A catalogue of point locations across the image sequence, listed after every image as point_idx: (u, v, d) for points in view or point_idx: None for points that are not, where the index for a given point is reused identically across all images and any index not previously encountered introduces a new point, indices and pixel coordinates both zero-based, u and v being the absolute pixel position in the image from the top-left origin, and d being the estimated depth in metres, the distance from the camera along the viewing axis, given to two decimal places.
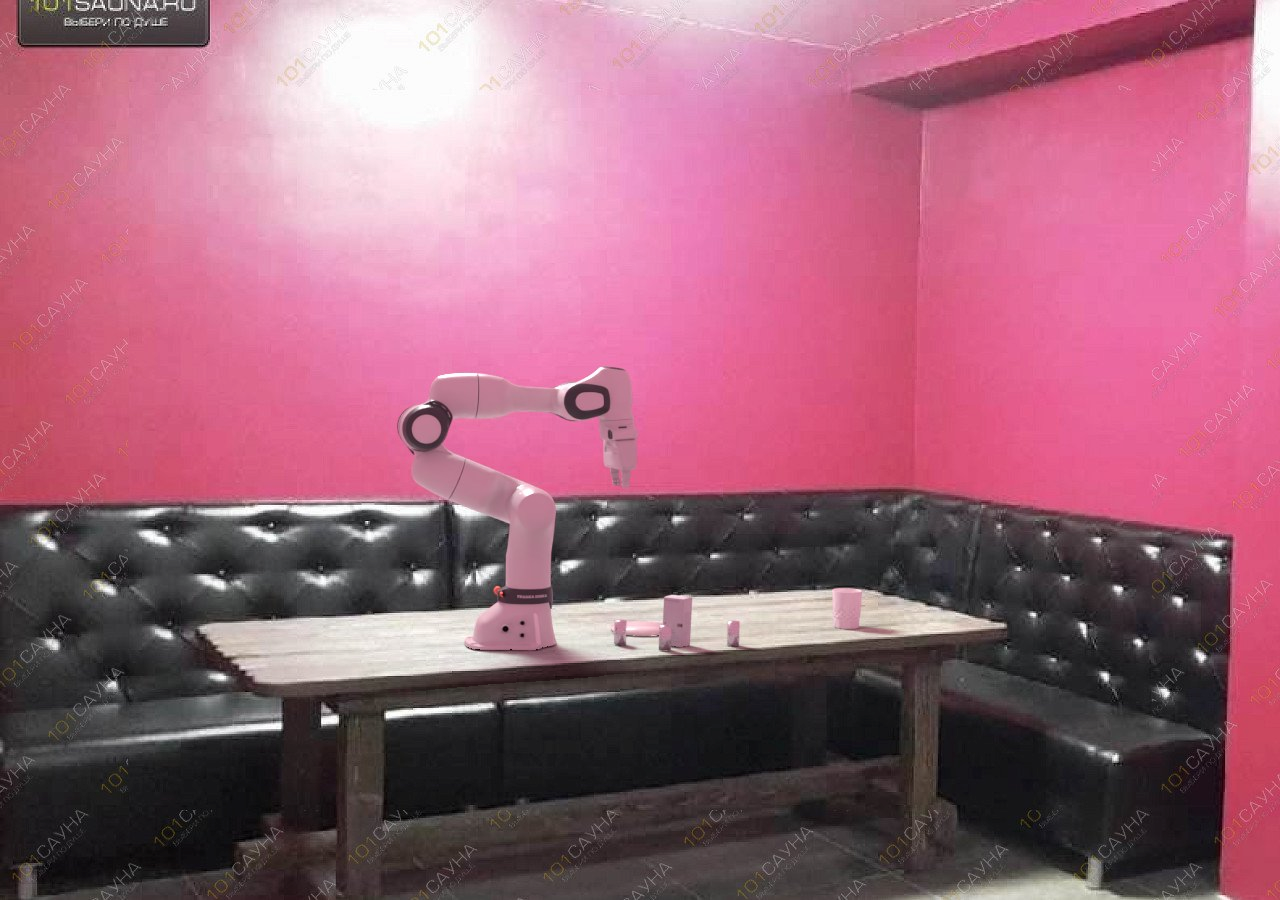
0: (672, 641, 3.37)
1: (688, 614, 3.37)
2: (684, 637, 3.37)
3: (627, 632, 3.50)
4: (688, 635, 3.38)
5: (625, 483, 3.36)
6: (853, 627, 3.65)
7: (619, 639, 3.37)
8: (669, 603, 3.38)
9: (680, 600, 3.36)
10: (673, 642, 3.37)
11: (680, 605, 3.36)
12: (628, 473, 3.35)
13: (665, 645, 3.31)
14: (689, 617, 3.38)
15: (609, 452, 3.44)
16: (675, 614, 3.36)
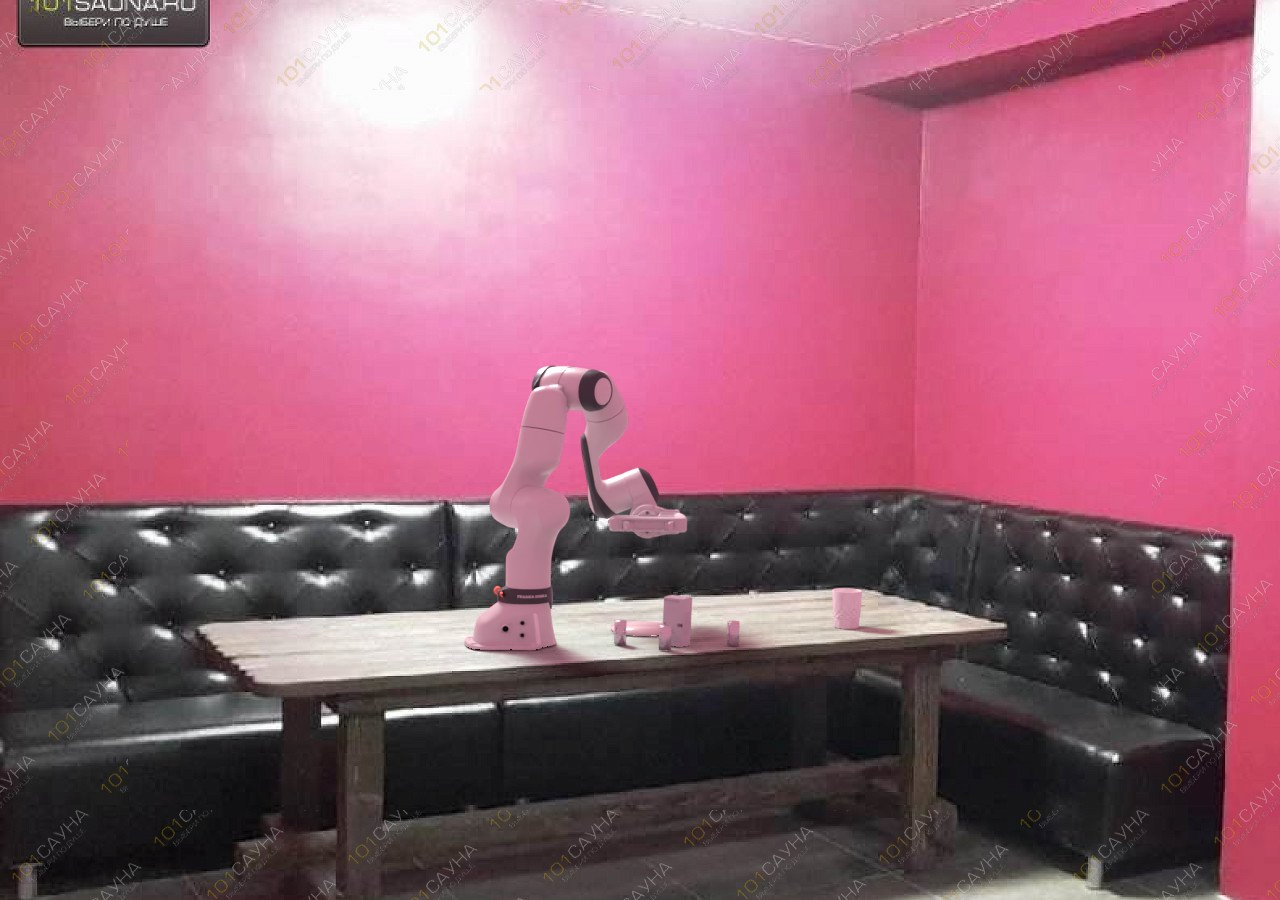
0: (672, 641, 3.37)
1: (688, 614, 3.37)
2: (684, 637, 3.37)
3: (627, 632, 3.50)
4: (688, 635, 3.38)
5: (670, 525, 3.51)
6: (853, 627, 3.65)
7: (619, 639, 3.37)
8: (669, 603, 3.38)
9: (680, 600, 3.36)
10: (673, 642, 3.37)
11: (680, 605, 3.36)
12: (673, 527, 3.53)
13: (665, 645, 3.31)
14: (689, 617, 3.38)
15: (635, 517, 3.58)
16: (675, 614, 3.37)
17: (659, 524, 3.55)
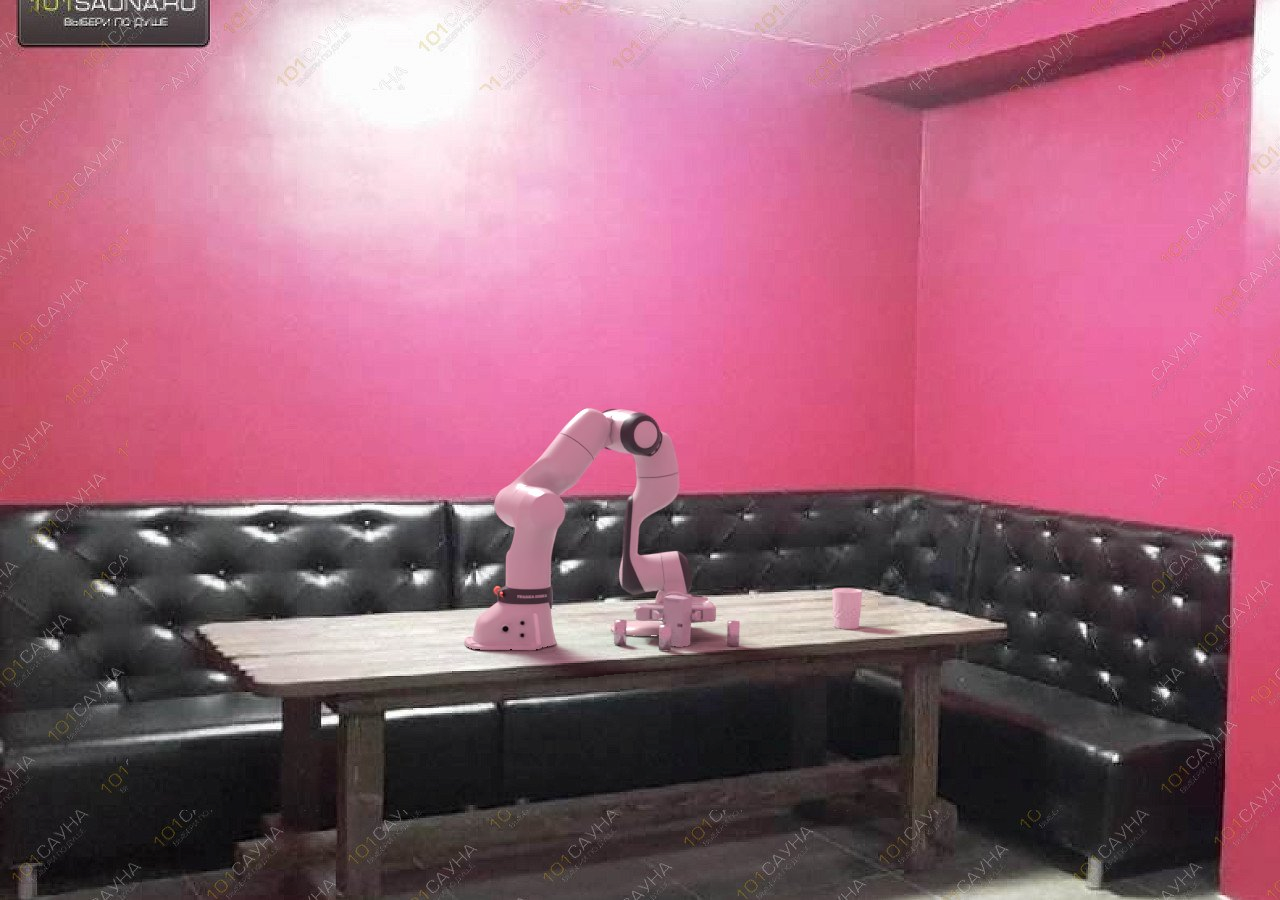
0: (672, 641, 3.37)
1: (688, 614, 3.37)
2: (684, 637, 3.37)
3: (627, 632, 3.50)
4: (688, 635, 3.38)
5: (697, 616, 3.39)
6: (853, 627, 3.65)
7: (619, 639, 3.37)
8: (669, 603, 3.38)
9: (680, 600, 3.36)
10: (673, 642, 3.37)
11: (680, 605, 3.36)
12: (700, 617, 3.42)
13: (665, 645, 3.31)
14: (689, 617, 3.38)
15: None
16: (675, 614, 3.36)
17: None
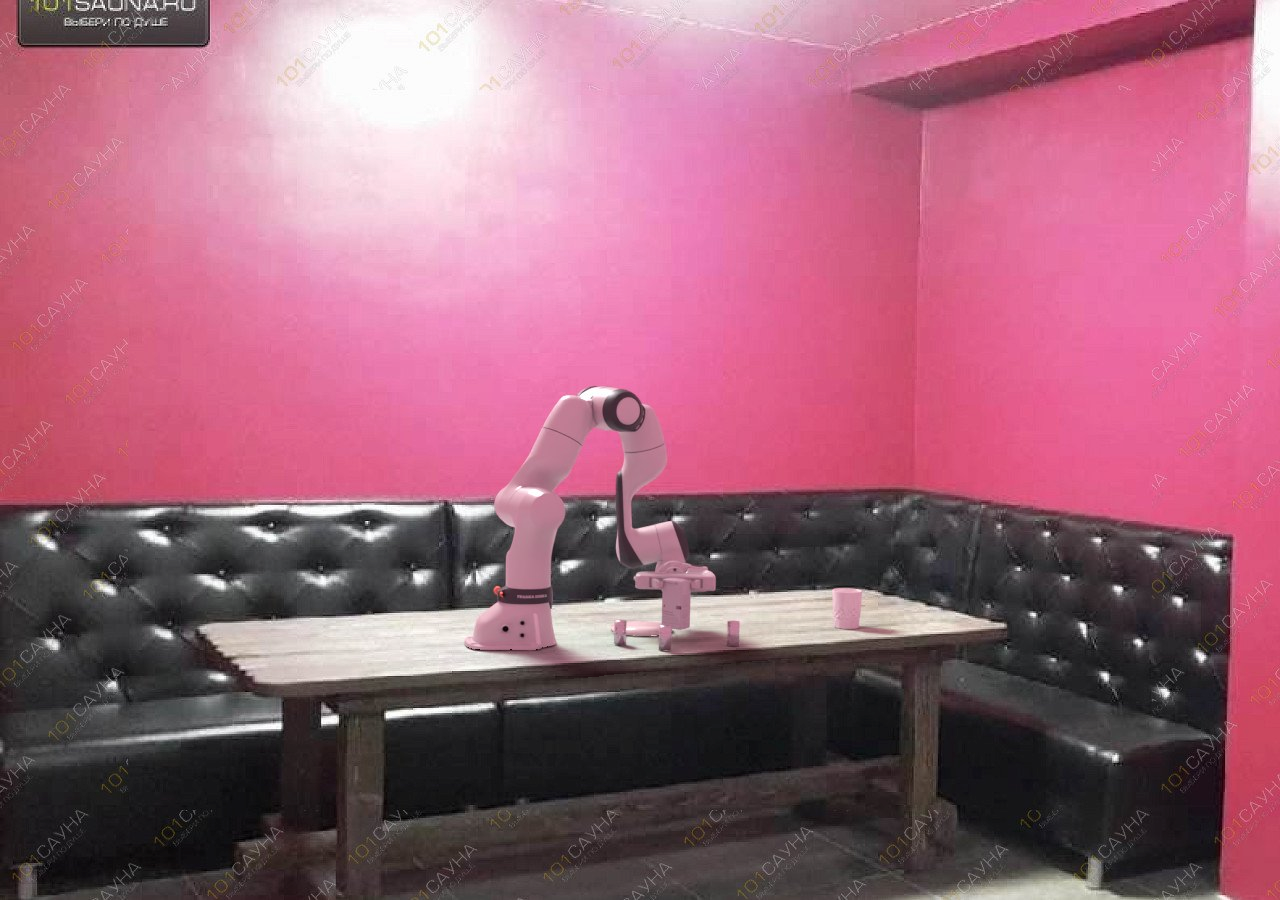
0: (671, 623, 3.37)
1: (687, 596, 3.37)
2: (683, 619, 3.36)
3: (627, 632, 3.50)
4: (687, 617, 3.38)
5: (696, 584, 3.39)
6: (853, 627, 3.65)
7: (619, 639, 3.37)
8: (667, 586, 3.37)
9: (678, 582, 3.35)
10: (673, 625, 3.37)
11: (678, 587, 3.36)
12: (700, 586, 3.41)
13: (665, 645, 3.31)
14: (688, 599, 3.38)
15: (662, 574, 3.46)
16: (674, 596, 3.36)
17: None
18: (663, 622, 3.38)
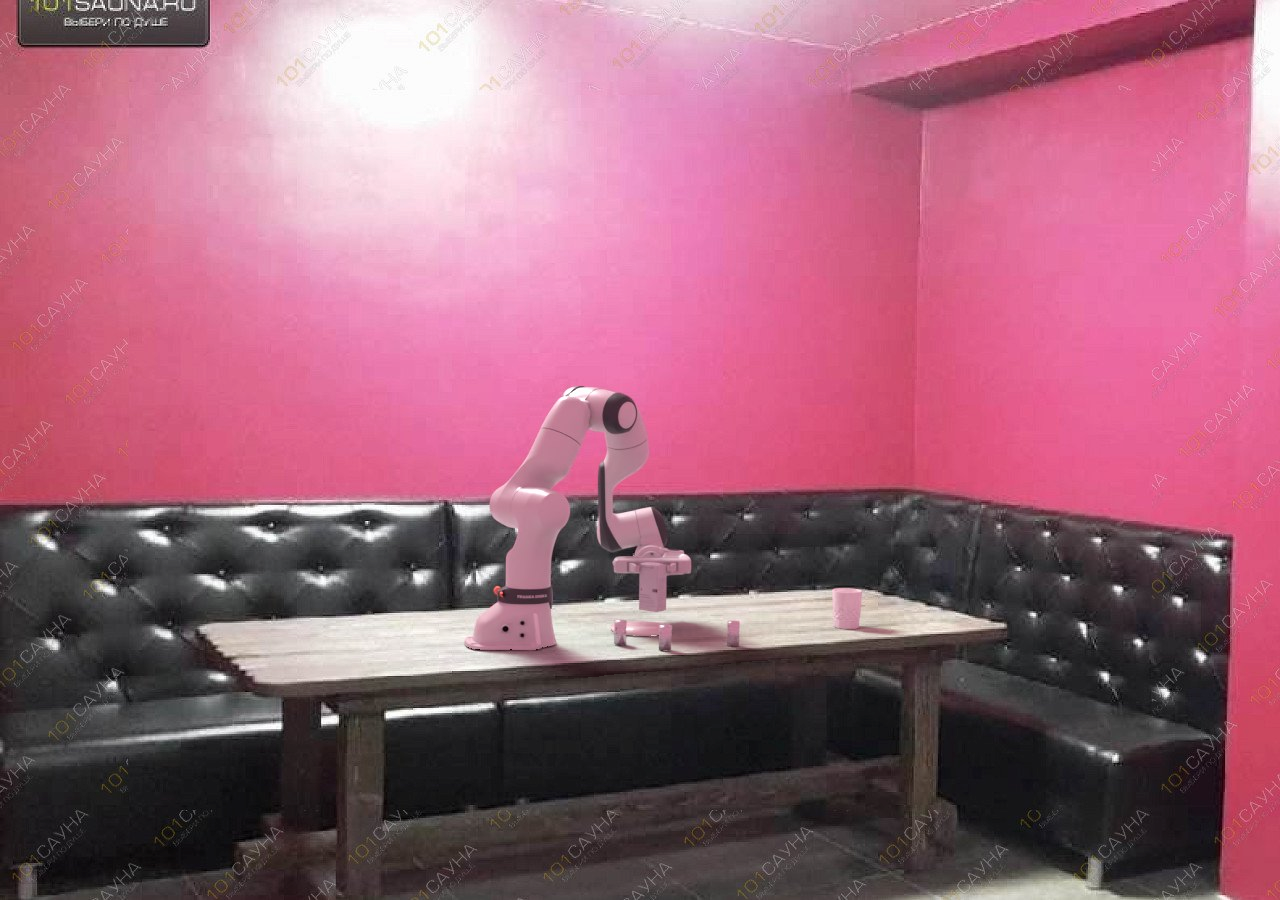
0: (648, 606, 3.50)
1: (663, 580, 3.50)
2: (660, 602, 3.49)
3: (627, 632, 3.50)
4: (664, 600, 3.51)
5: (672, 568, 3.52)
6: (853, 627, 3.65)
7: (619, 639, 3.37)
8: (644, 570, 3.50)
9: (654, 566, 3.48)
10: (649, 607, 3.50)
11: (654, 571, 3.48)
12: (675, 569, 3.54)
13: (665, 645, 3.31)
14: (664, 582, 3.51)
15: None
16: (650, 580, 3.49)
17: None
18: (640, 605, 3.51)
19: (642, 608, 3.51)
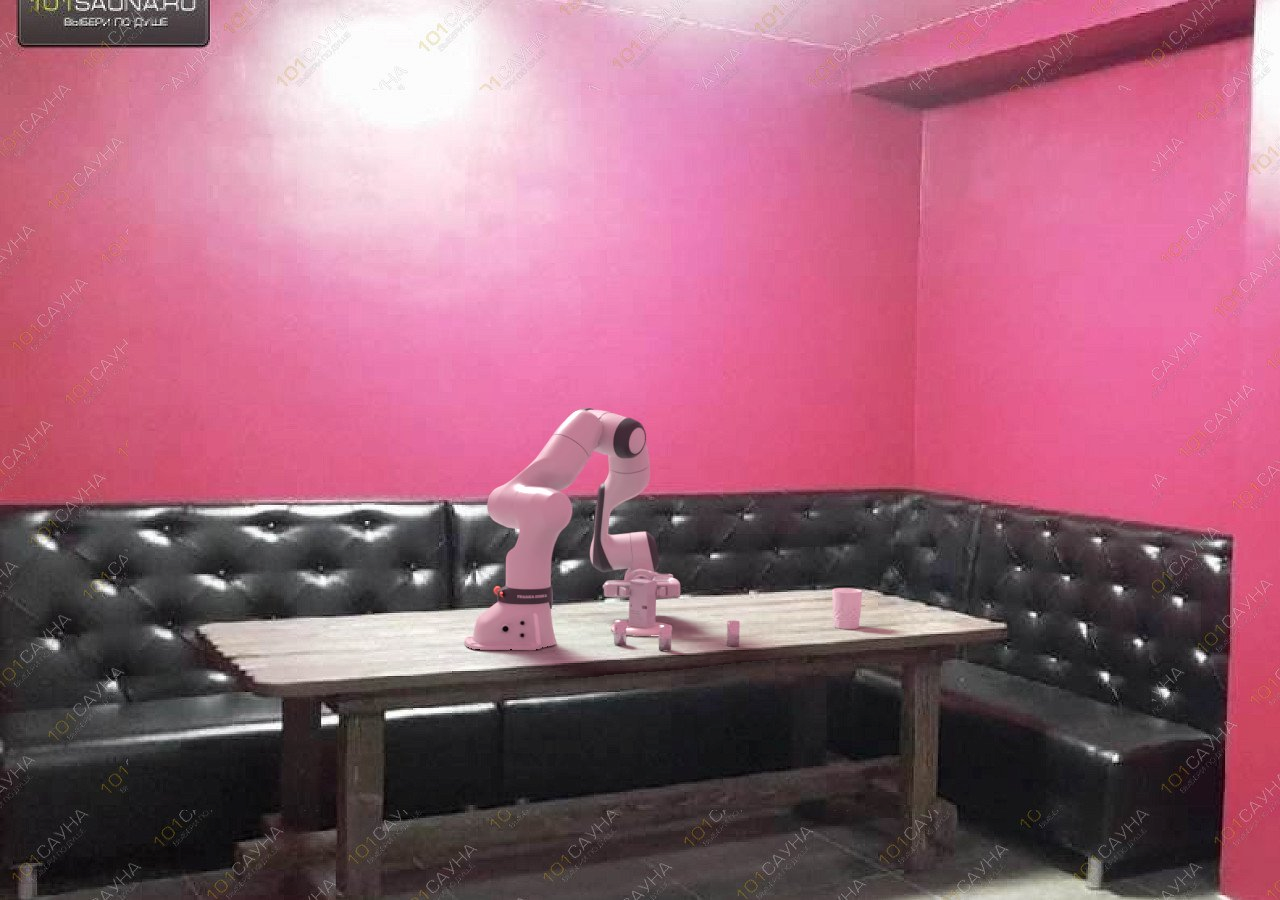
0: (638, 622, 3.56)
1: (652, 597, 3.56)
2: (649, 618, 3.55)
3: (627, 632, 3.50)
4: (653, 616, 3.56)
5: (661, 592, 3.57)
6: (853, 627, 3.65)
7: (619, 639, 3.37)
8: (634, 587, 3.56)
9: (644, 583, 3.54)
10: (639, 623, 3.55)
11: (644, 588, 3.54)
12: (665, 593, 3.60)
13: (665, 645, 3.31)
14: (654, 599, 3.56)
15: None
16: (640, 596, 3.55)
17: None
18: (630, 621, 3.57)
19: (632, 624, 3.57)
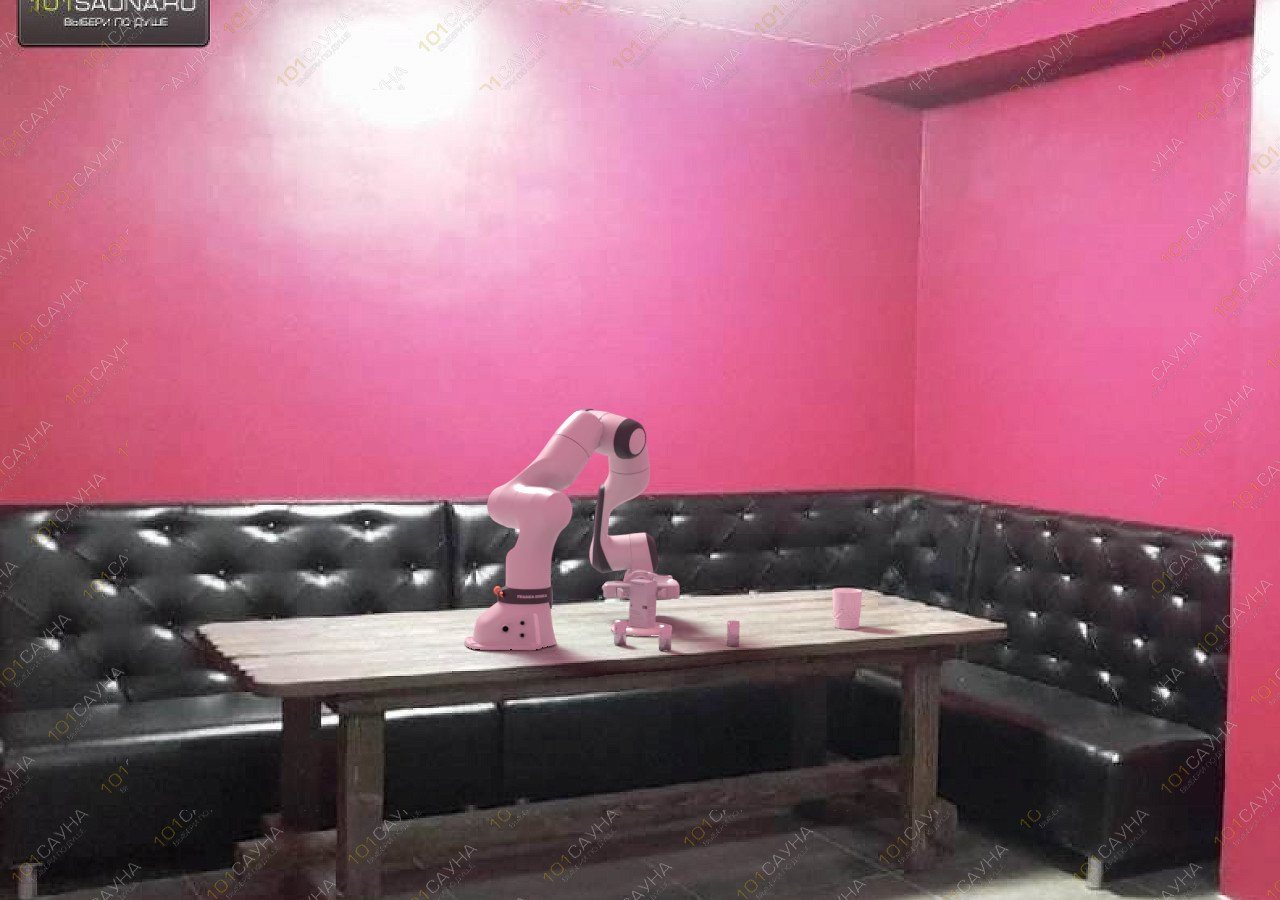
0: (638, 622, 3.56)
1: (653, 597, 3.56)
2: (649, 618, 3.55)
3: (627, 632, 3.50)
4: (653, 617, 3.57)
5: (662, 593, 3.57)
6: (853, 627, 3.65)
7: (619, 639, 3.37)
8: (635, 587, 3.56)
9: (645, 583, 3.54)
10: (639, 623, 3.55)
11: (645, 588, 3.54)
12: (666, 594, 3.60)
13: (665, 645, 3.31)
14: (654, 599, 3.57)
15: None
16: (641, 596, 3.55)
17: None
18: (630, 621, 3.57)
19: (632, 623, 3.57)
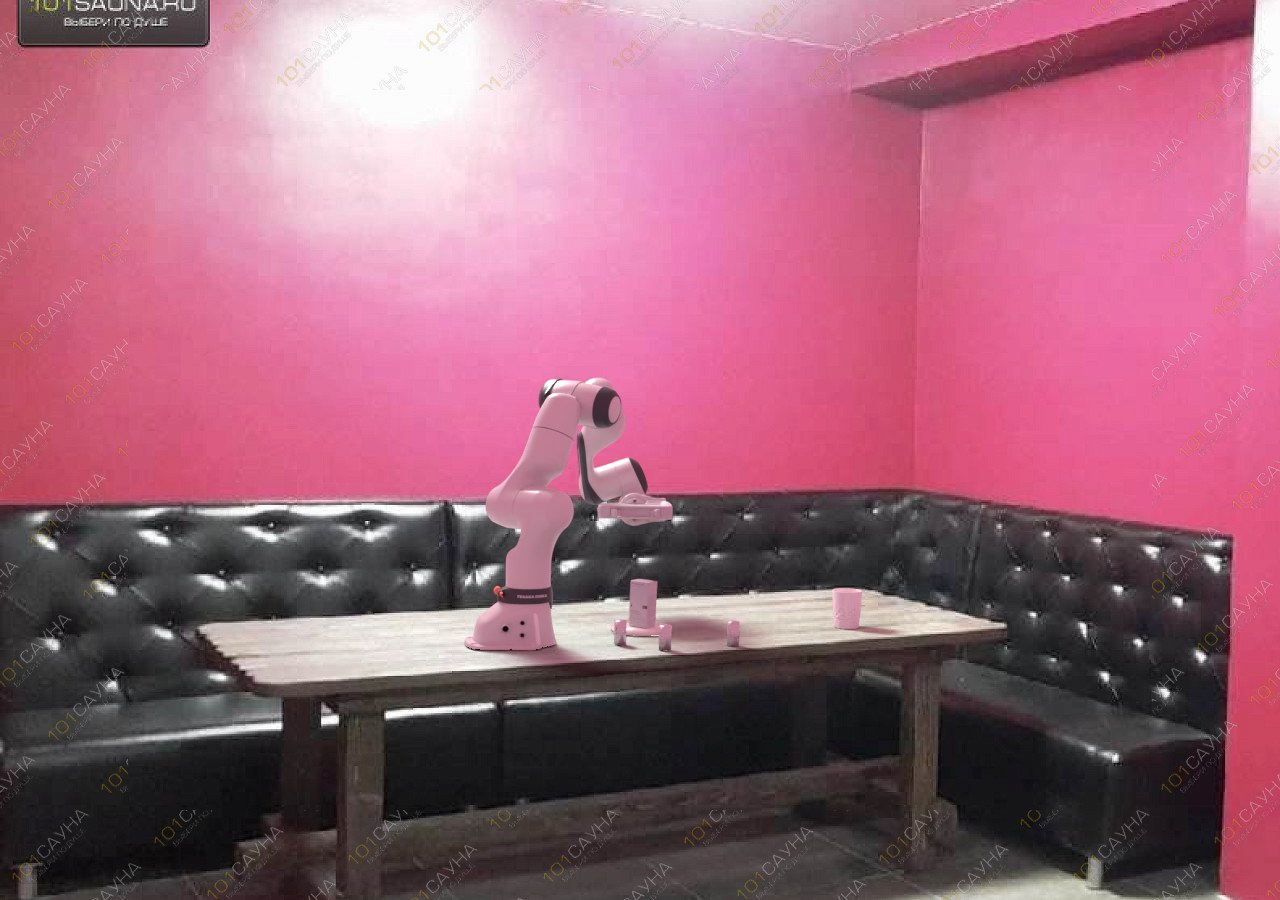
0: (638, 622, 3.56)
1: (653, 597, 3.56)
2: (649, 618, 3.55)
3: (627, 632, 3.50)
4: (653, 617, 3.57)
5: (656, 513, 3.64)
6: (853, 627, 3.65)
7: (619, 639, 3.37)
8: (635, 587, 3.56)
9: (645, 583, 3.54)
10: (639, 623, 3.55)
11: (645, 588, 3.54)
12: (659, 514, 3.67)
13: (665, 645, 3.31)
14: (654, 599, 3.57)
15: (623, 504, 3.71)
16: (641, 596, 3.55)
17: (645, 512, 3.68)
18: (630, 621, 3.57)
19: (632, 623, 3.57)
